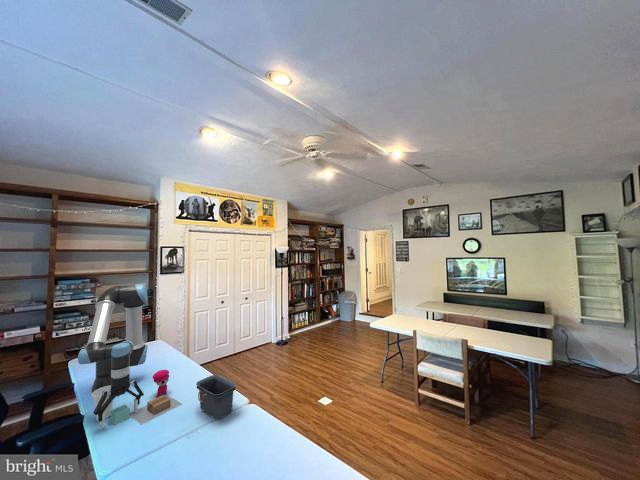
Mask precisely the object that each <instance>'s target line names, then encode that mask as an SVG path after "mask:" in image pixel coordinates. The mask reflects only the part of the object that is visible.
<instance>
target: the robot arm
mask: <svg viewBox="0 0 640 480" xmlns="http://www.w3.org/2000/svg"><path fill="white" fill-rule="evenodd" d="M147 291H148V290H147V287H146V285H145V284H142V283H141V284H140V283H139V284H137V283H135V284H123V285H114V286H111V287H108V289H105V291H103V292H102V293H101V294H100V295H99V296H98V298H97V299H96V302H95V305H94V308H95V314H94V317H93V322H92V325H91V330H90V332H89V336H88V340H87V344H86V347H85V348H82V349H80V351H78V355H77V362H78V364H79V365H90V364H94V363H95V379H94V380H93V384H92V386H91V394H92V393H93V392H94V391H95V390H97V389H99V388H102V387H105V386H110V385H111V389H110V390H107V391H105V390H104V391H103V392H102V397H101V398H100V400H99V402H98V404H97V406H96V405H95V408H94V410H93V415H94V416H97V415H98V421H97V422H99V423H100V427H101V428H102V429H105V424H106V423H105V421H106V418H105V413H104V411H105V410H106V408H107V407H108V406H109V404H110V403H111V401H112V400H113V399H114V400H115V399H116V397H120V396H121V395H125V394H126V393H128V394H129V395H130V396H133V397H134V398H133V411H134V412H135V413H137V412H138V409H139V407H138V406H139V405H140V400H141V397H144V396H145V393H144V392H143V391H142V389H141V388H140V387H139V385H138V381H137V380H136V379H132V381H130V379H131V377H130V376H131V374H130V373H131V370H130V369H131V367H138V366H141V365H143V364H145V363H146V359H147V354H148V347H149V346H148V345H147V344H146V342H145V341H143V307H144V306H145V303H146V302H148V292H147ZM116 305H122V308H123V309H124V310H125V338H126V339H125V340H124V341H121V342H120V343H114V344H106V342H107V339H108V333H109V328H110V324H111V319H112V315H113V311H114V309H115V308H116ZM131 386H132V387H133V388H134V389H135V390H136V392H137V393H138V394H136V393H135V392H134V391H132V390H131V389H129V388H130V387H131ZM109 393H111V394H110V396H109V398H108V399H107V400H106V402H105V403H104V401H105V399H106V397H107V395H108V394H109ZM114 400H113V401H114ZM103 403H104V404H103ZM102 405H103V406H102Z"/></svg>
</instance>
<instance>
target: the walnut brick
mask: <svg viewBox="0 0 640 480" xmlns="http://www.w3.org/2000/svg"><path fill="white" fill-rule="evenodd" d="M166 396H167V395H165V394H161V396H160V397H158V398H157V397H155V398H152V399H151V400H149V401H147V404H146V405H147V410H148V411H150V412H151V413H152V414H154V415H155V414H157V413H159V412H161V411H163V410H165V409H167V408H169V407H171V399H169V398H167V397H166Z"/></svg>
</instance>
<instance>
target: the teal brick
mask: <svg viewBox="0 0 640 480" xmlns="http://www.w3.org/2000/svg"><path fill="white" fill-rule="evenodd" d="M130 410H131V408H130V407H129V406H127V405H126V404H123V405H120V406H118V407H116V408H112V410H111V415H110V416H109V417H110V422H111V423H112V424H113V425H114V426H116V425H118V424H120V423H122V422H124V421H127V420H128V419H130V417H131V416H130V413H131V411H130Z"/></svg>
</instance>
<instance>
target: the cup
mask: <svg viewBox="0 0 640 480" xmlns="http://www.w3.org/2000/svg"><path fill="white" fill-rule="evenodd" d="M110 389H111V385H110V386H105V387H102V388H99V389H97V390H95V391H94V392H93V393H92V392H91V396H92V397H91V398H92V399H93V401H94V404H95V407H96V406H97V404H98V402H99V400H100V398H101V397H102V392H103V391H104V390H105V391H107V390H110ZM110 394H111V393H109V394H108V395H107V397H106V399H105V401H104V403H105V402H106V400H107V399H108V398H109V396H110ZM114 400H115V398H114V399H113V400H112V401H111V403H110V404H109V406H108V407H107V408H106V410H105V411H104V413H105V419H106V418H108V417H110V415H111V410H113V406H114V405H113V404H114ZM104 403H103V404H104ZM102 406H103V405H102ZM95 420H96V421H97V422H99V421H98V415H96V419H95Z"/></svg>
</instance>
